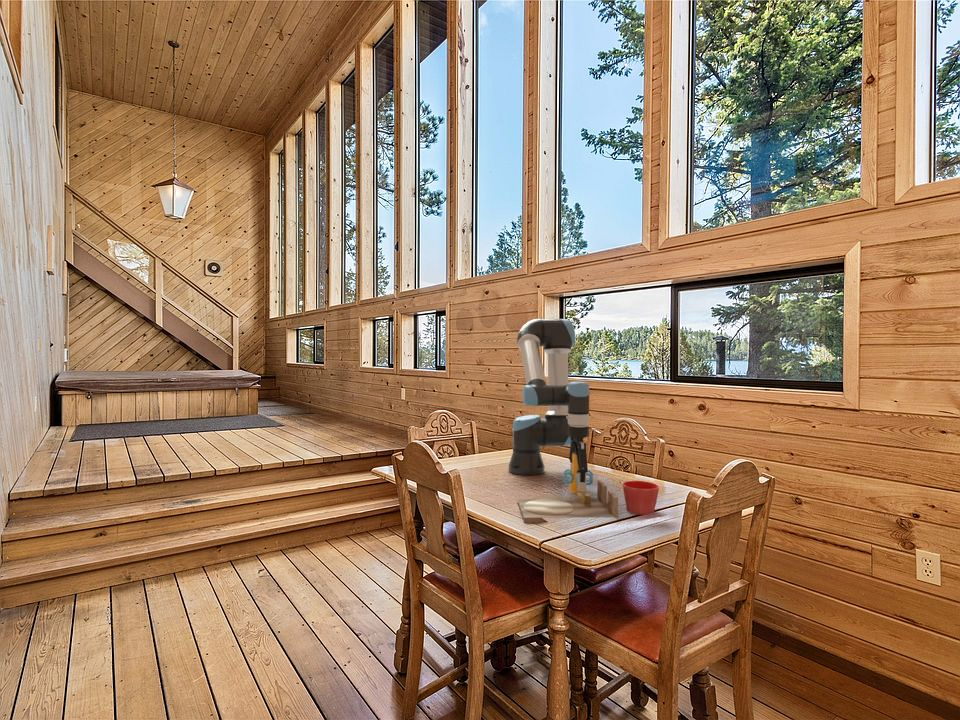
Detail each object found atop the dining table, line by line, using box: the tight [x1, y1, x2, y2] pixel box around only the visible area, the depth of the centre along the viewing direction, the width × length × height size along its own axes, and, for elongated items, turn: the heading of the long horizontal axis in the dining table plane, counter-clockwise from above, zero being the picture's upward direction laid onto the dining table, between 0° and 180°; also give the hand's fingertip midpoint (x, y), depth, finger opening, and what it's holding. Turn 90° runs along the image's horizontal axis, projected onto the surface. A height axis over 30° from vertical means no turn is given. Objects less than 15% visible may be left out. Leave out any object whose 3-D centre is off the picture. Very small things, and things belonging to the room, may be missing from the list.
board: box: [516, 479, 620, 524], centre depth 170 cm, size 20×29×8 cm
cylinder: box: [562, 452, 594, 495], centre depth 188 cm, size 12×10×15 cm
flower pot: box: [622, 480, 660, 519], centre depth 167 cm, size 11×11×10 cm
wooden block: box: [577, 492, 592, 505], centre depth 174 cm, size 4×2×3 cm, turn 22°
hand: (577, 486), depth 188 cm, fingers closed on cylinder, 12 cm apart
